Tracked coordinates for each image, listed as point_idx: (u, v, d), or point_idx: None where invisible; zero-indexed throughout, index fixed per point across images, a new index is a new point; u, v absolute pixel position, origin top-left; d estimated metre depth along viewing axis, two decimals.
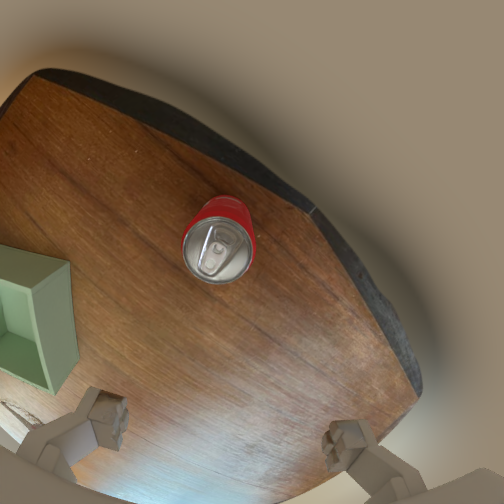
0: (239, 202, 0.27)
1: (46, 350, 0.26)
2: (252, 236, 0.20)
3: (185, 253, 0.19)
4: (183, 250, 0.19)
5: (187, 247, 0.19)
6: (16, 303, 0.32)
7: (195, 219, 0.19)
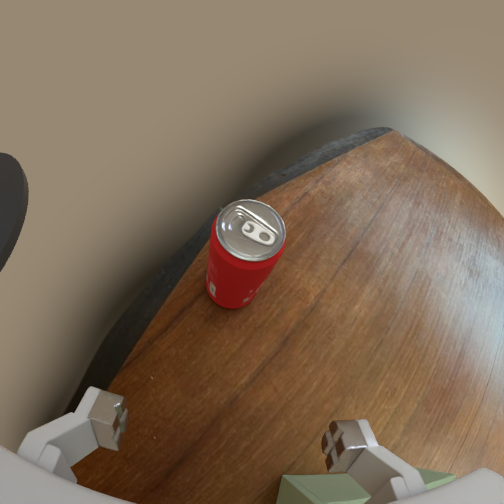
0: None
1: None
2: None
3: (254, 259, 0.19)
4: (250, 259, 0.18)
5: (247, 255, 0.18)
6: None
7: (218, 251, 0.19)
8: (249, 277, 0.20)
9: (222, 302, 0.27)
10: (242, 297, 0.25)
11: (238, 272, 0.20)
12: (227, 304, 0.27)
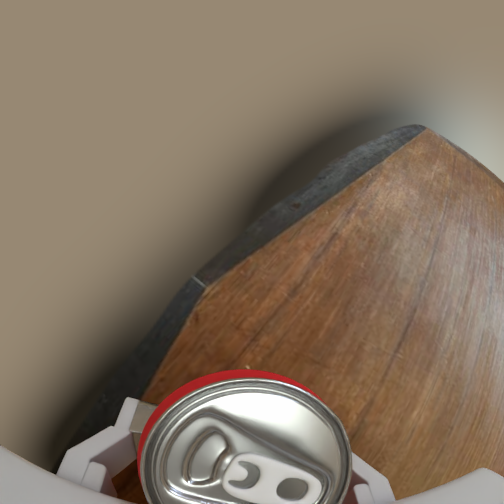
0: None
1: None
2: (203, 380, 0.06)
3: None
4: None
5: None
6: None
7: None
8: None
9: None
10: None
11: None
12: None
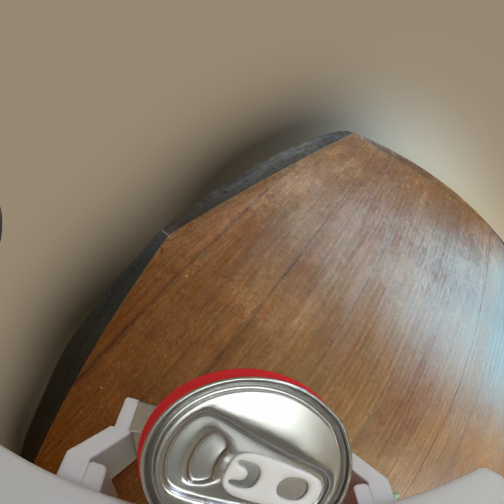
0: None
1: None
2: (203, 379, 0.06)
3: None
4: None
5: None
6: None
7: None
8: None
9: None
10: None
11: None
12: None
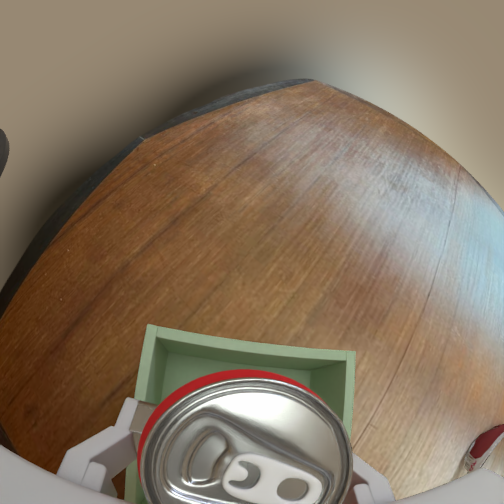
0: None
1: None
2: (203, 380, 0.06)
3: None
4: None
5: None
6: None
7: None
8: None
9: None
10: None
11: None
12: None
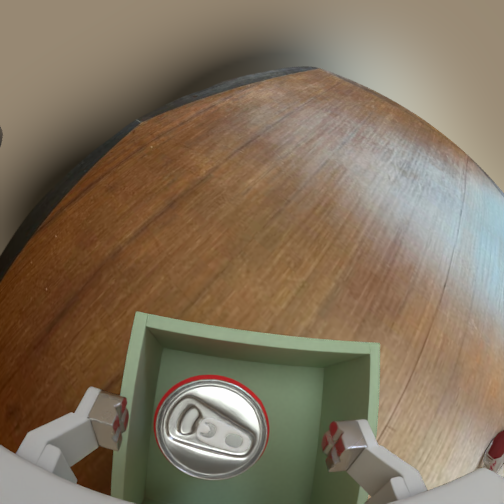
0: None
1: None
2: (187, 380, 0.12)
3: (220, 475, 0.09)
4: (214, 478, 0.09)
5: (208, 473, 0.09)
6: (242, 473, 0.19)
7: (168, 459, 0.10)
8: None
9: None
10: None
11: None
12: None
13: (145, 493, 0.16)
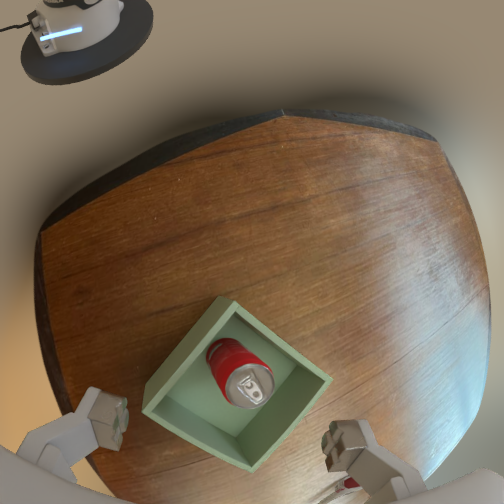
0: (220, 344, 0.33)
1: None
2: (252, 360, 0.26)
3: (241, 406, 0.24)
4: (238, 406, 0.24)
5: (238, 403, 0.24)
6: (218, 397, 0.35)
7: (222, 389, 0.25)
8: None
9: None
10: None
11: None
12: None
13: None
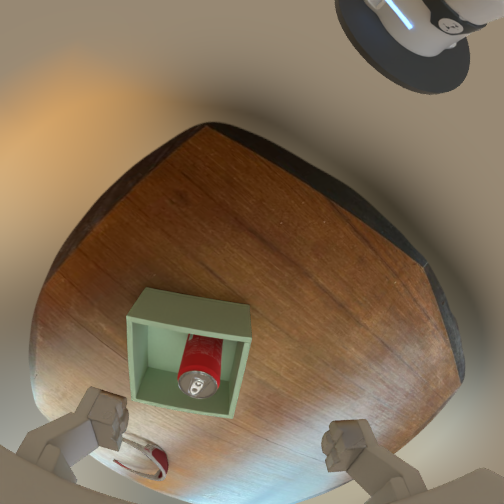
0: None
1: None
2: (217, 377, 0.32)
3: (180, 385, 0.32)
4: (178, 384, 0.31)
5: (181, 383, 0.31)
6: (171, 342, 0.43)
7: (183, 368, 0.31)
8: None
9: None
10: None
11: None
12: (187, 338, 0.40)
13: None
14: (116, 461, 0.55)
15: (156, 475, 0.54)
